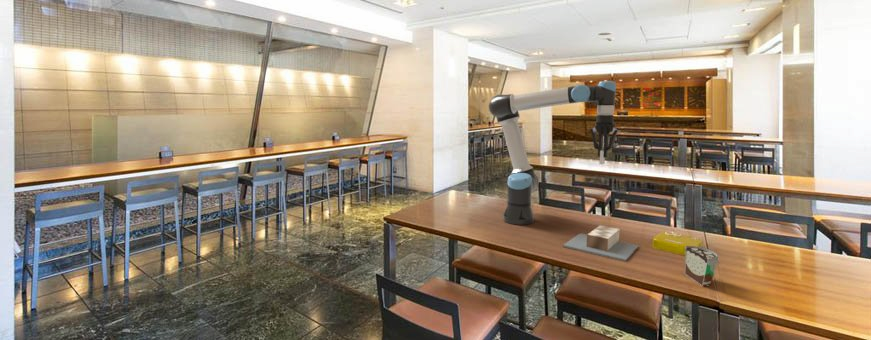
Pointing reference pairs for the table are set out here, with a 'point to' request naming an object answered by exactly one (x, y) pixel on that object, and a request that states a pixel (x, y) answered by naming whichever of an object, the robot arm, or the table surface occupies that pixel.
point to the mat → (616, 251)
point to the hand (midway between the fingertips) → (601, 163)
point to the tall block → (603, 238)
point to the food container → (700, 264)
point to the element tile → (675, 242)
